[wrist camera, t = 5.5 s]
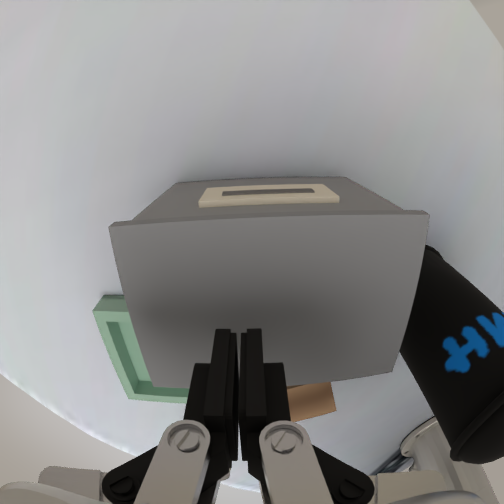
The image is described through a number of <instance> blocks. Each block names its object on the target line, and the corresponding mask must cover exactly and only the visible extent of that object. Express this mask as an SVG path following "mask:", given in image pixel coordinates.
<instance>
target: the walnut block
mask: <svg viewBox="0 0 504 504" xmlns="http://www.w3.org/2000/svg"><path fill="white" fill-rule="evenodd" d="M287 394H288V401H289V409H290V417H291V421H292V422H296V421H300V420H304V419H308V418H312V417H316V416H320V415H324V414H327V413H331V412H334V411H336V406H335V402H334V397H333V392H332V387H331V383H330V382H324V383H315V384H305V385H294V386H287Z"/></svg>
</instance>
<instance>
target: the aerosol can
mask: <svg viewBox="0 0 504 504" xmlns="http://www.w3.org/2000/svg"><path fill="white" fill-rule="evenodd" d="M399 352H400V353H401V355H402V357H403V358H404V360H405V362H406V364H407V365H408V367H409V369H410V371H411V372H412V374H413V376H414V378H415V380H416V381H417V383H418V385H419V387H420V389H421V391H422V392H423V394H424V396H425V398H426V400H427V402H428V404H429V406H430V407H431V409H432V411H433V413H434V415H435V417H436V419H437V421H438V423H439V425H440V427H441V429H442V431H443V433H444V435H445V437H446V439H447V441H448V443H449V445H450V448H451V450H450V458H451V459H452V460H453V461H457V462H460V461H463V462H465V463H471V464H484V463H488V462H492V461H495V460H497V459H499V458H501V457H504V313H503V312H502V311H501V310H500V309H499V308H498V307H497V306H496V305H495V304H494V303H493V302H491V301H490V300H489V299H488V298H487V297H486V296H485V295H484V294H483V293H482V292H481V291H479V290H478V289H477V288H476V287H475V286H474V285H473V284H472V283H470V282H469V281H468V280H467V279H466V278H465V277H463V276H462V275H461V274H460V273H459V272H458V271H456V270H455V269H454V268H453V267H452V266H450V265H449V264H448V263H447V262H445V261H444V260H443V258H442V256H441V255H440V254H439V252H438V251H436V250H435V249H434V248H432V247H429V246H427V245H425V249H424V255H423V260H422V265H421V270H420V275H419V280H418V284H417V288H416V293H415V297H414V301H413V305H412V309H411V313H410V316H409V320H408V324H407V327H406V330H405V334H404V337H403V340H402V344H401V347H400V350H399Z"/></svg>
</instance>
